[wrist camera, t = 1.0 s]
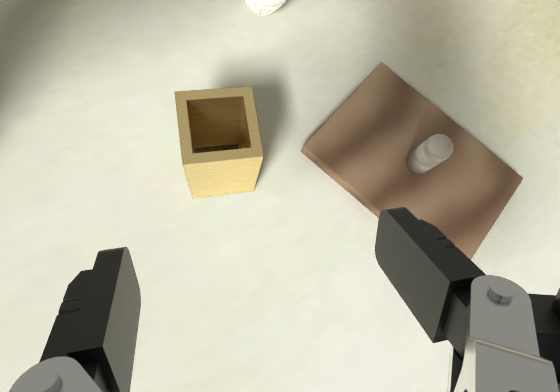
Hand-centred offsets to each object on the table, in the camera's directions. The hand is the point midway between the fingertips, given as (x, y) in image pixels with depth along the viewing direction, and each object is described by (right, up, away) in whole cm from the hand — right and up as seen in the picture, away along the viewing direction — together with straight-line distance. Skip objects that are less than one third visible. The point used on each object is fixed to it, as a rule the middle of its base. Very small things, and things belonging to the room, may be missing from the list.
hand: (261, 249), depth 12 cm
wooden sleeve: (-5, +5, +26) cm, 27 cm away
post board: (+15, +5, +29) cm, 33 cm away
